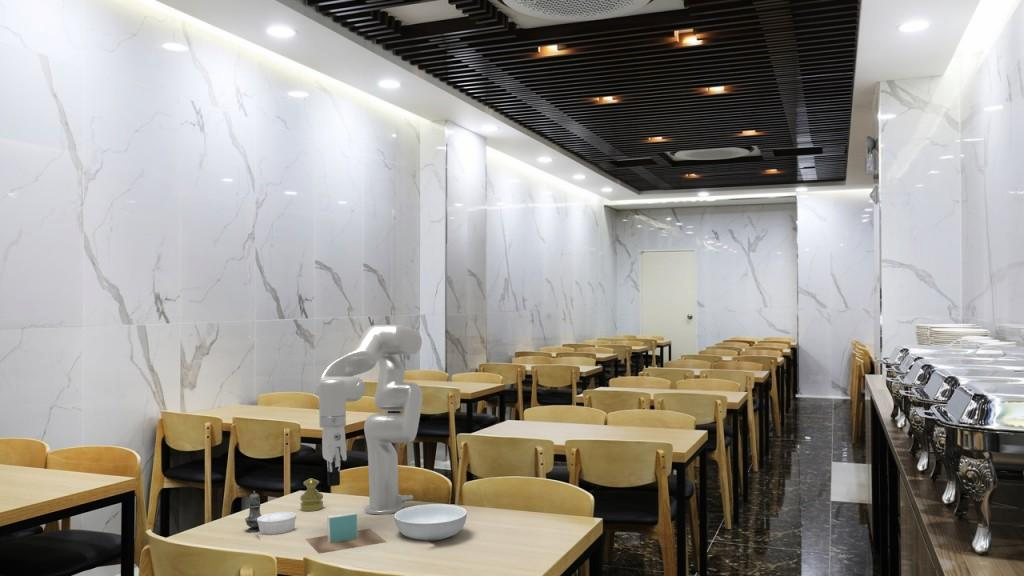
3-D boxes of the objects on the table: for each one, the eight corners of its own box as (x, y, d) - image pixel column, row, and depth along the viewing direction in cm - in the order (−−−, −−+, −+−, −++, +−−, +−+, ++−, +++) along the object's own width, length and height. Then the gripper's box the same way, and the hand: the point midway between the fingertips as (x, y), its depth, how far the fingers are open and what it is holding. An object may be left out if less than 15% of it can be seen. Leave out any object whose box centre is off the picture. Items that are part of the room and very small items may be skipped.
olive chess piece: (305, 506, 275) (304, 476, 275) (326, 506, 274) (325, 476, 274) (296, 511, 268) (296, 481, 268) (318, 511, 267) (317, 481, 267)
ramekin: (250, 535, 242) (249, 517, 242) (283, 526, 250) (283, 509, 250) (270, 541, 235) (269, 523, 235) (303, 532, 243) (303, 515, 243)
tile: (355, 536, 232) (355, 512, 232) (357, 538, 230) (357, 513, 230) (327, 541, 228) (327, 516, 228) (329, 543, 226) (329, 517, 226)
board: (369, 532, 240) (369, 528, 240) (387, 546, 226) (386, 541, 226) (305, 543, 231) (305, 538, 231) (318, 558, 217) (318, 553, 217)
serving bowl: (410, 552, 220) (409, 526, 220) (385, 533, 238) (384, 510, 238) (479, 539, 229) (478, 515, 230) (450, 522, 248) (449, 500, 248)
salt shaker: (259, 532, 244) (258, 492, 244) (241, 532, 245) (240, 492, 245) (268, 527, 250) (267, 488, 250) (251, 526, 251) (250, 488, 251)
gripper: (352, 423, 231) (353, 488, 230) (338, 418, 244) (339, 479, 244) (326, 425, 228) (327, 491, 227) (313, 420, 241) (314, 482, 240)
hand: (333, 485), depth 235 cm, fingers closed
